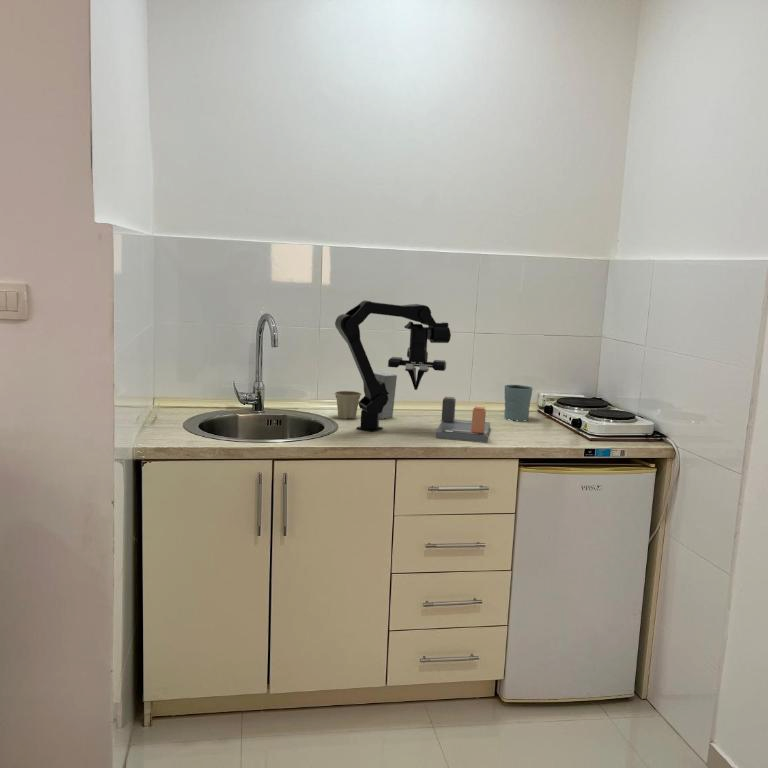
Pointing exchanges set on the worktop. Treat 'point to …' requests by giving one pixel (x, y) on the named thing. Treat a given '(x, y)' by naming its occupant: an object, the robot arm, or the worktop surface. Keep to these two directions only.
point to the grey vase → (390, 387)
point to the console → (461, 431)
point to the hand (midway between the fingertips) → (415, 389)
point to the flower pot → (347, 403)
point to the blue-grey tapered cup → (517, 402)
